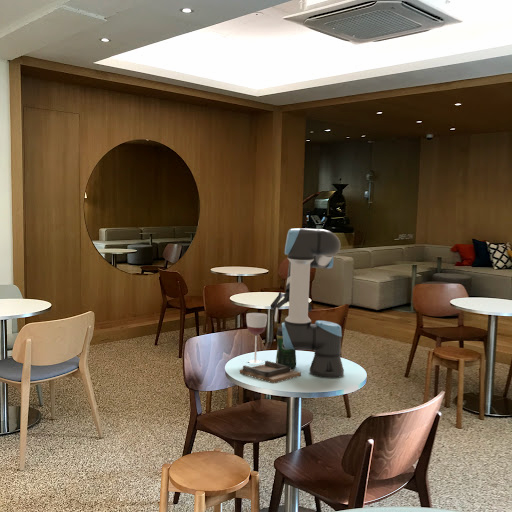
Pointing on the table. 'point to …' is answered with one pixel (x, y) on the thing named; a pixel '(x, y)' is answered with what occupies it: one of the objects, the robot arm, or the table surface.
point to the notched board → (270, 372)
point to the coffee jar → (284, 352)
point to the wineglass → (256, 327)
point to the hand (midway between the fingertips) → (289, 321)
